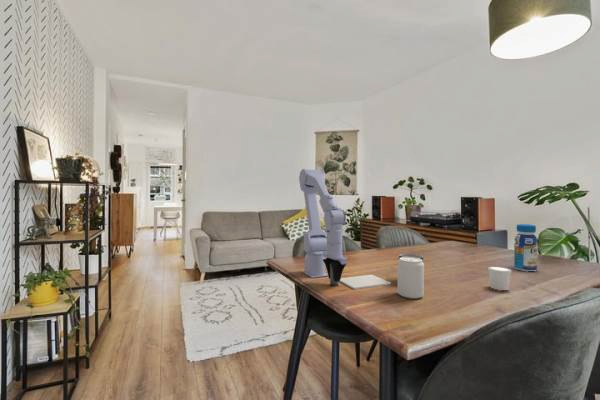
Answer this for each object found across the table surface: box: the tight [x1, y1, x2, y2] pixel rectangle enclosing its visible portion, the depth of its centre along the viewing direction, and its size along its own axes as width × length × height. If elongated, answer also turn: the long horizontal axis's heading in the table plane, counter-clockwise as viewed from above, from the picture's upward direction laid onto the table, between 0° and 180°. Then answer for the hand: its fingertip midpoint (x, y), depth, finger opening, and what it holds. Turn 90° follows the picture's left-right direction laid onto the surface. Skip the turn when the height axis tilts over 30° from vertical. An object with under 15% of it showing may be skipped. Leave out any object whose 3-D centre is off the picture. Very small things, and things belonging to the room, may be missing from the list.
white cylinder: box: [487, 266, 512, 291], centre depth 106 cm, size 7×7×7 cm
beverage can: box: [397, 257, 425, 300], centre depth 98 cm, size 8×8×12 cm
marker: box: [329, 264, 339, 287], centre depth 108 cm, size 3×3×8 cm
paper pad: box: [338, 274, 392, 290], centre depth 112 cm, size 12×16×1 cm
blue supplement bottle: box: [513, 223, 539, 272], centre depth 132 cm, size 8×8×20 cm
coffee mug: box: [398, 252, 424, 263], centre depth 114 cm, size 12×9×10 cm
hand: (334, 279), depth 109 cm, fingers open, 3 cm apart
